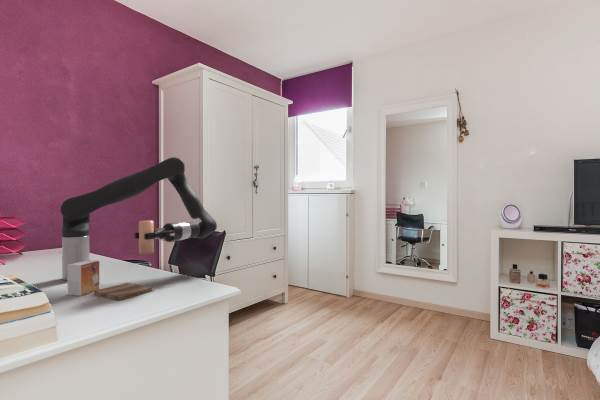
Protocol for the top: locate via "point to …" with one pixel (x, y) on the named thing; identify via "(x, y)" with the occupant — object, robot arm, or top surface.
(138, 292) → the walnut board
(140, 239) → the terracotta canister
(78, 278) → the small box
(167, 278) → the top surface
